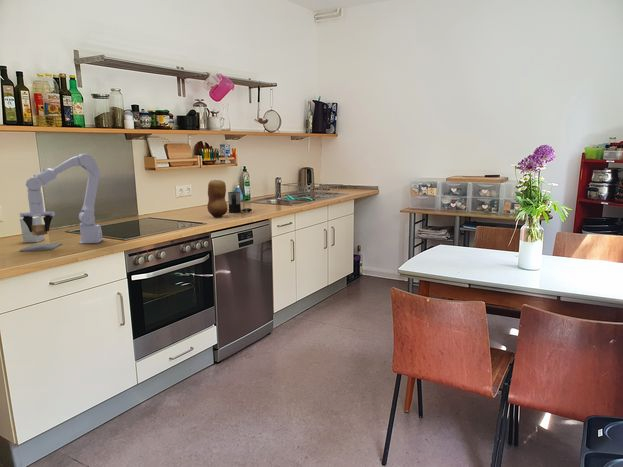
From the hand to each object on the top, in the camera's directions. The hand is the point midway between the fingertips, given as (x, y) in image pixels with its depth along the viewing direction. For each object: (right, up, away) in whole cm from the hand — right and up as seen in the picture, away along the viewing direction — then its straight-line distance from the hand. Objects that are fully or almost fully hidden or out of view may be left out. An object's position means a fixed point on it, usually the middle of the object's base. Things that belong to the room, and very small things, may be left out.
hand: (39, 231), depth 218 cm
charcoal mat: (0, -8, +2) cm, 8 cm away
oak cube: (0, -1, 0) cm, 1 cm away
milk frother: (+78, +14, +112) cm, 138 cm away
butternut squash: (+67, +10, +90) cm, 113 cm away
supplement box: (-14, -5, +18) cm, 23 cm away
